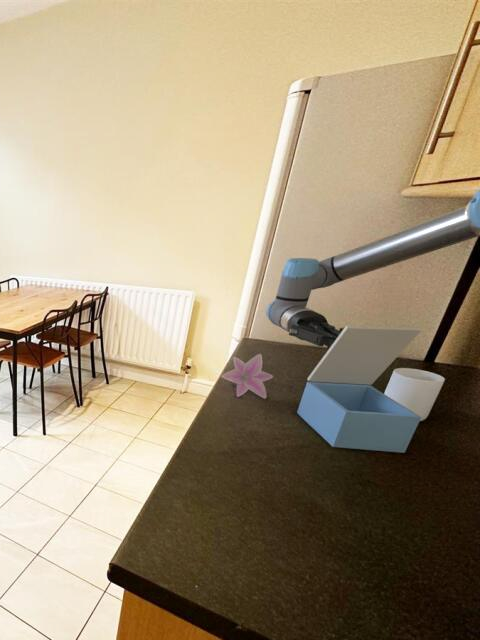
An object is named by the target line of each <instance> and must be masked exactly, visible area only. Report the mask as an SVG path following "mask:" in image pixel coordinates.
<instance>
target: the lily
mask: <svg viewBox="0 0 480 640" xmlns="http://www.w3.org/2000/svg"><path fill="white" fill-rule="evenodd" d="M232 362H233V365H234V369H232V370H229V371H226V372H225V373H223V374H221V378H222V379H224V380H227V381H230V382H232V383H233V384H234V383H235V385H234V386H235V387H236V397H237V398H239V397H241V396H242V395H244V394H245V393H246V392H247V391H251V392H253V393H254V394H255V395H257V396H258V397H261V398H262V399H264V400H265V399H267V390H266V386H265V384H264V382H267V381H269V380H271V379H273V377H274V375H273V374H271V373H269V372H266V371H262V370H263V356H262V354H261V353H258V354H256V355H254V356H253V357H252V358H250V359H249V360H248V361H247V362H244V361H243V360H242V359H240V358H238V357H236V356H232Z"/></svg>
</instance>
